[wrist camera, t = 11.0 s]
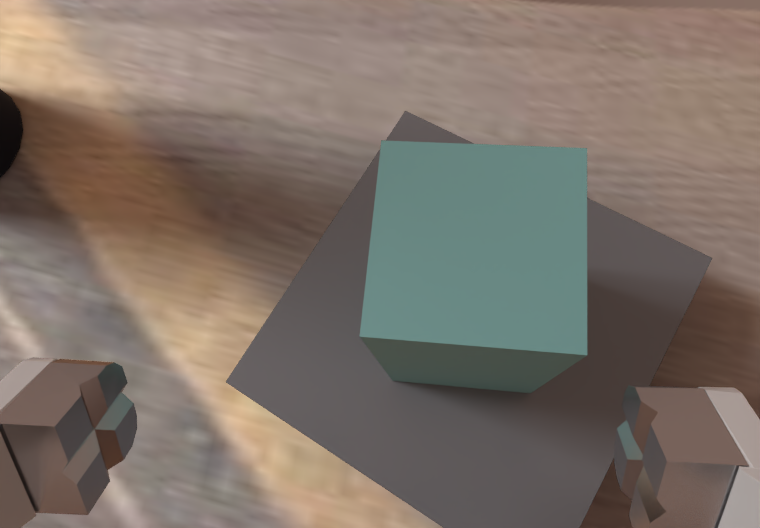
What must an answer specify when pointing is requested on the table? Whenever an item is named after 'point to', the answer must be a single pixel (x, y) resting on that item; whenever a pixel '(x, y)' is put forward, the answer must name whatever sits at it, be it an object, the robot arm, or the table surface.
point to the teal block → (477, 264)
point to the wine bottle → (9, 131)
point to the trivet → (461, 404)
